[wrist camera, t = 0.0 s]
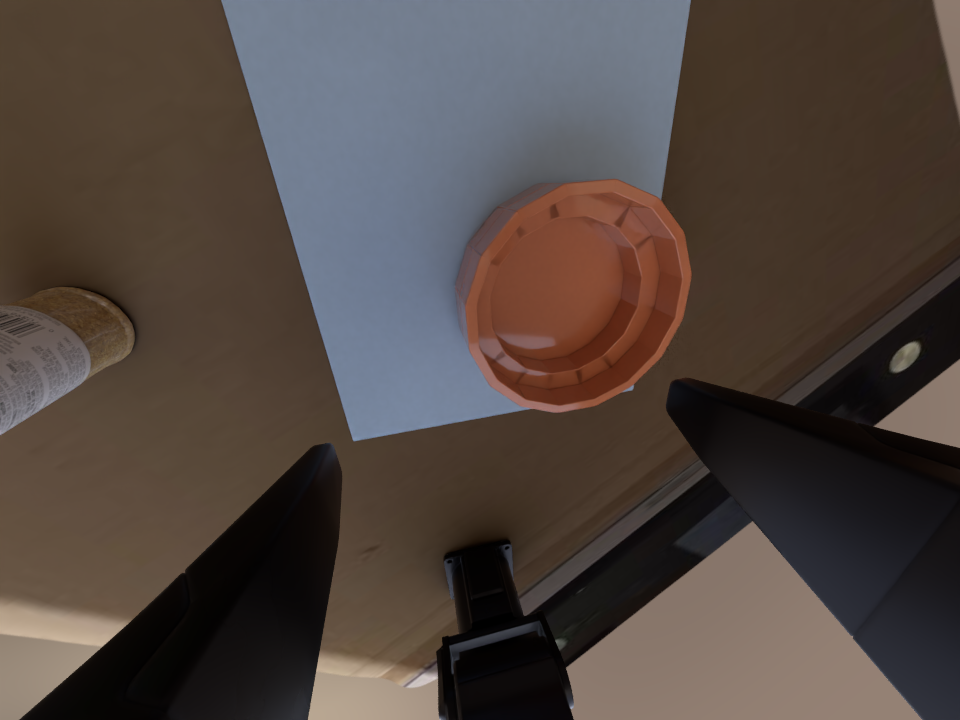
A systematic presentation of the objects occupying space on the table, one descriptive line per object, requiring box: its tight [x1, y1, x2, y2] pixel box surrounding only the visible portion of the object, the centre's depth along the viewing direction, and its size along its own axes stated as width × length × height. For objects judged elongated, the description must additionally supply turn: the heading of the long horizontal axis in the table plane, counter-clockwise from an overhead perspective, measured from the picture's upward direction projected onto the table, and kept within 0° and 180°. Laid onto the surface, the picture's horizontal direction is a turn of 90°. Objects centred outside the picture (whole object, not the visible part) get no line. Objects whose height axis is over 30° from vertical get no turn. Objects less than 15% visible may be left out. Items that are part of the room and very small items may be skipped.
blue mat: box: [221, 0, 691, 441], centre depth 22 cm, size 24×22×1 cm
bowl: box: [455, 179, 692, 413], centre depth 22 cm, size 13×13×4 cm
